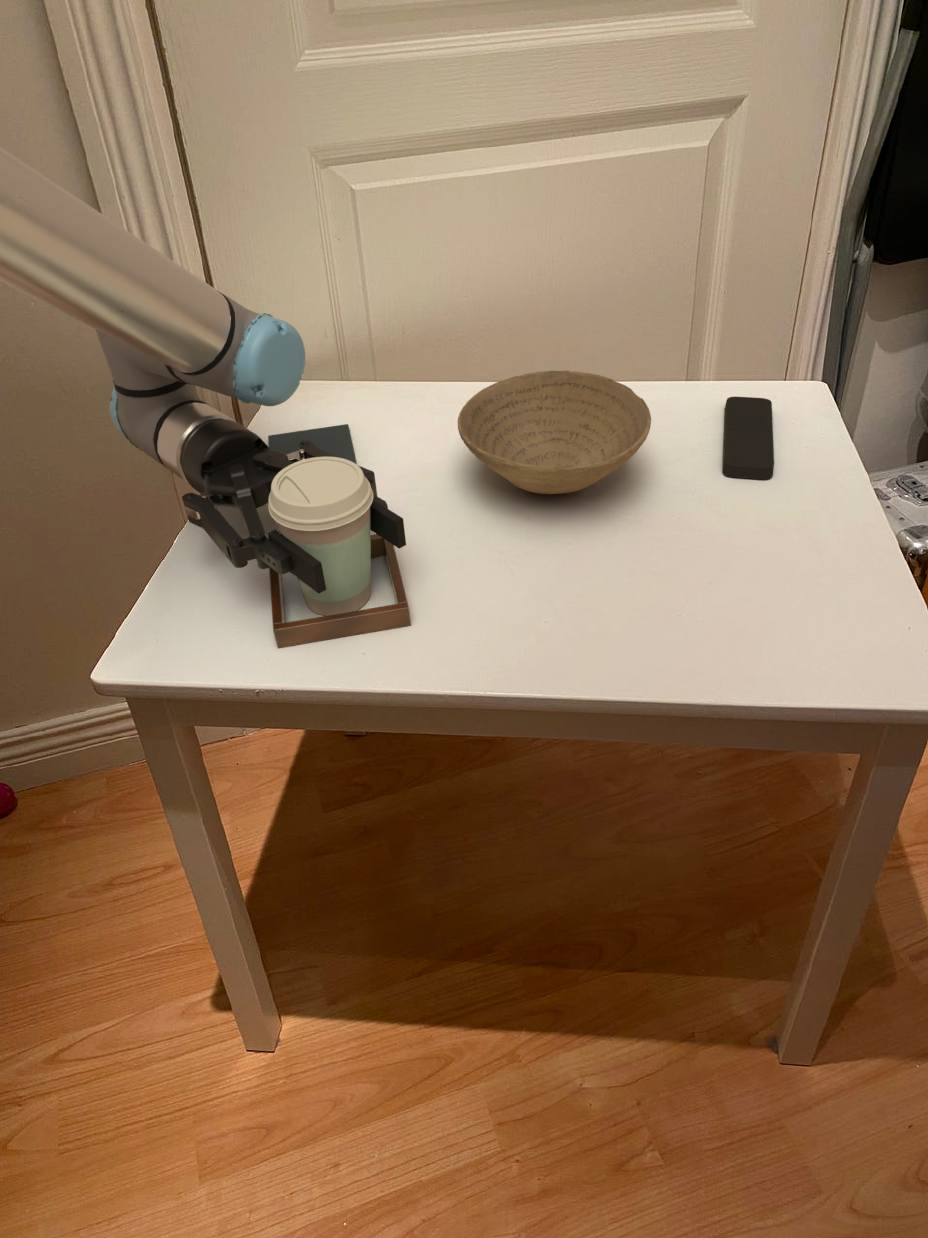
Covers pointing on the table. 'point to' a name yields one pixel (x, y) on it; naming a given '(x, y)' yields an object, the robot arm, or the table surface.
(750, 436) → the remote control
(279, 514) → the coffee cup
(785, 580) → the table surface
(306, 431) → the felt mat
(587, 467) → the bowl
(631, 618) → the table surface
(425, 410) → the table surface
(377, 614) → the wooden square frame
